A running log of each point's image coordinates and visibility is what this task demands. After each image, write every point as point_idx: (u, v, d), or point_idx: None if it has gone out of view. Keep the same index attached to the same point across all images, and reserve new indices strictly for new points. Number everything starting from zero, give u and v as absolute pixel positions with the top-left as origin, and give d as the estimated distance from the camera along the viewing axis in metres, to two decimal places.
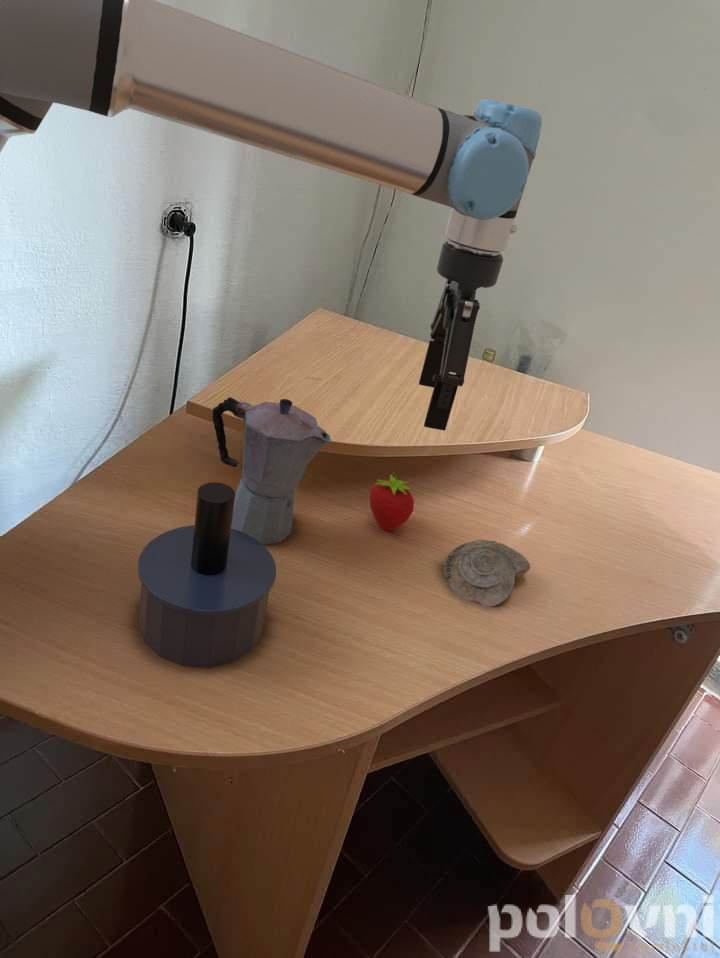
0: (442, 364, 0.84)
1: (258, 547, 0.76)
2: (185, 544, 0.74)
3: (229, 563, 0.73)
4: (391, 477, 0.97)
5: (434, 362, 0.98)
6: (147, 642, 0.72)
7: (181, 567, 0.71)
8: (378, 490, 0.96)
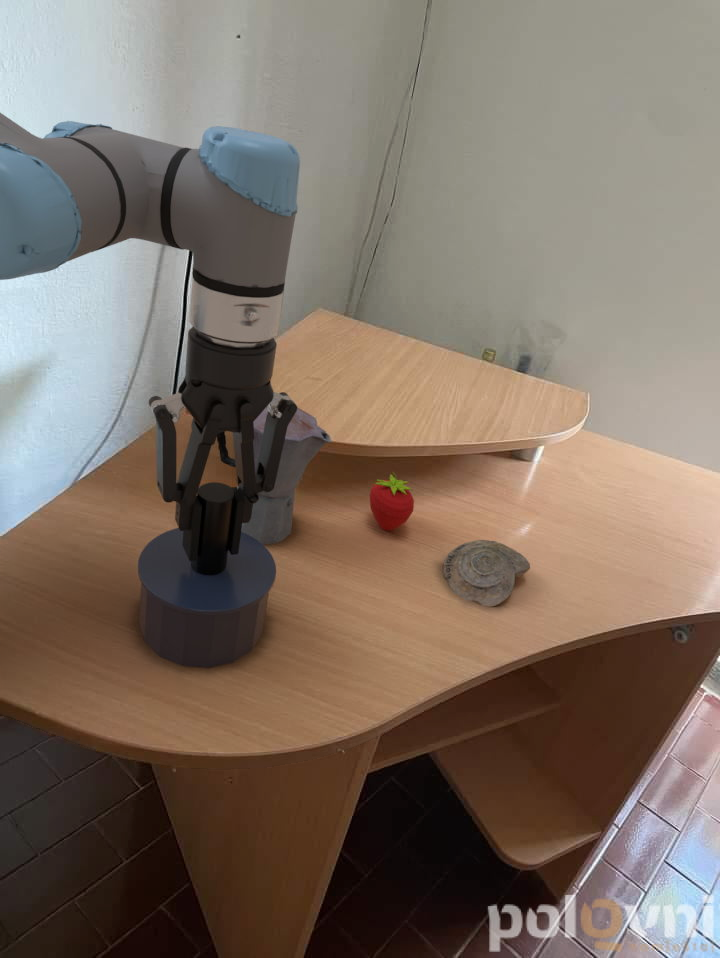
0: None
1: (258, 547, 0.76)
2: None
3: (229, 563, 0.73)
4: (391, 477, 0.97)
5: None
6: (147, 642, 0.72)
7: (181, 567, 0.71)
8: (378, 490, 0.96)
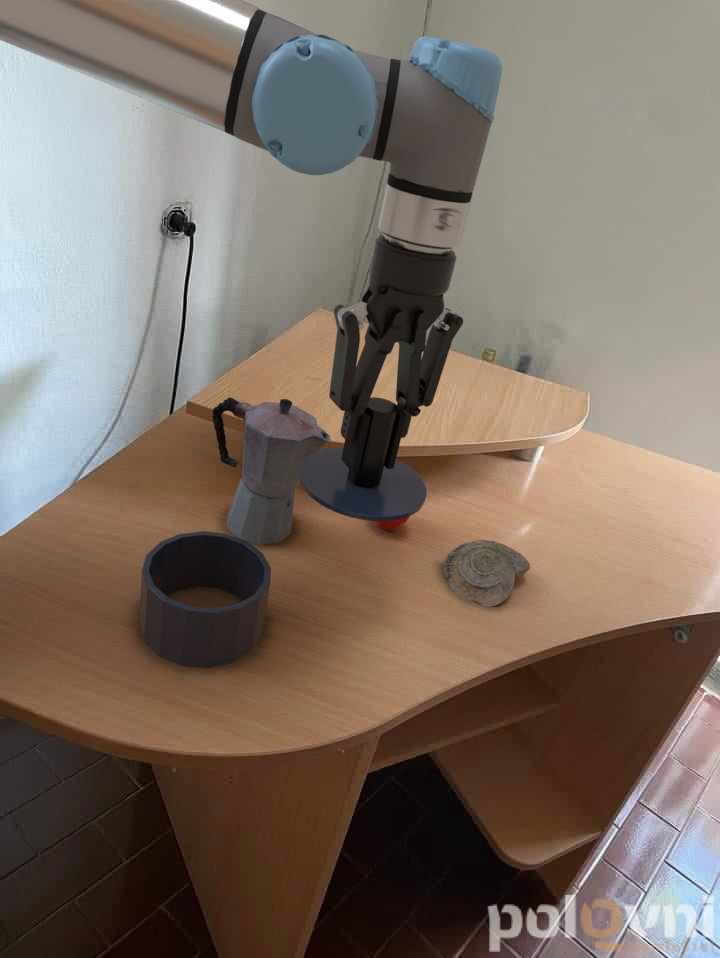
0: None
1: (403, 467, 0.80)
2: (337, 462, 0.77)
3: (382, 479, 0.76)
4: None
5: None
6: (147, 642, 0.72)
7: (340, 480, 0.74)
8: None
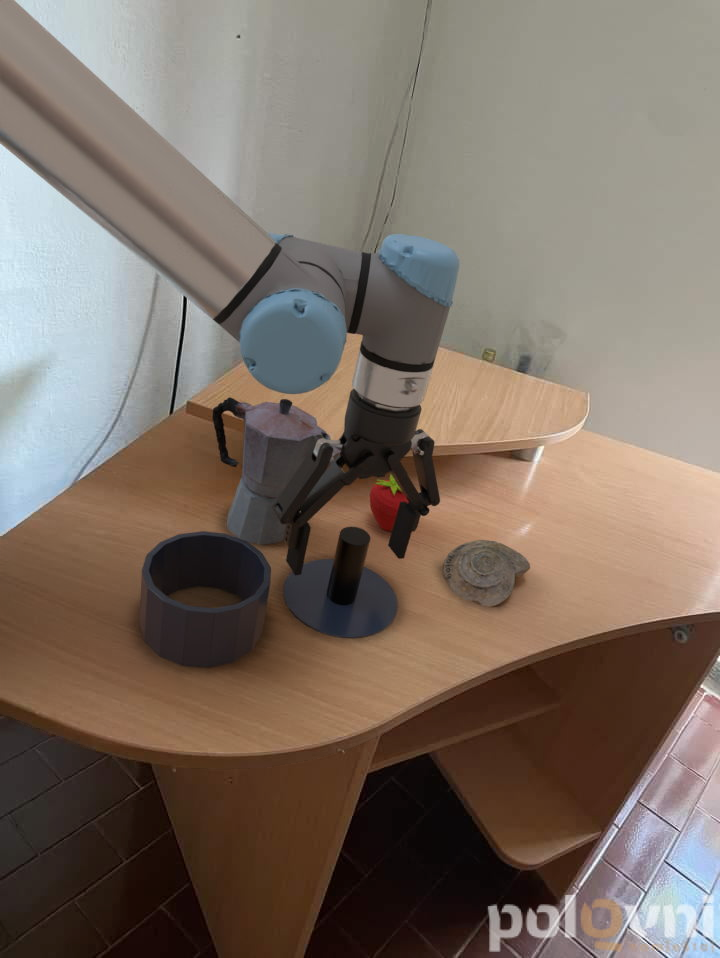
0: None
1: (377, 578, 0.88)
2: (318, 577, 0.86)
3: (358, 594, 0.85)
4: (391, 477, 0.97)
5: (400, 527, 0.83)
6: (147, 642, 0.72)
7: (319, 598, 0.83)
8: (378, 490, 0.96)
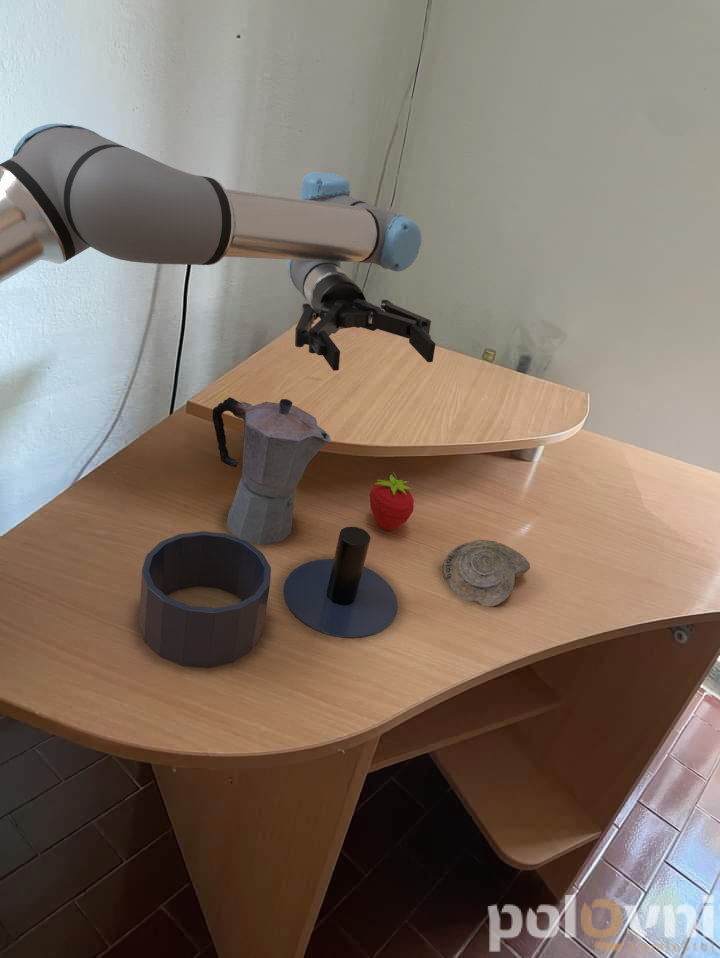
0: (409, 319, 1.00)
1: (377, 578, 0.88)
2: (318, 577, 0.86)
3: (358, 594, 0.85)
4: (391, 477, 0.97)
5: None
6: (147, 642, 0.72)
7: (319, 598, 0.83)
8: (378, 490, 0.96)
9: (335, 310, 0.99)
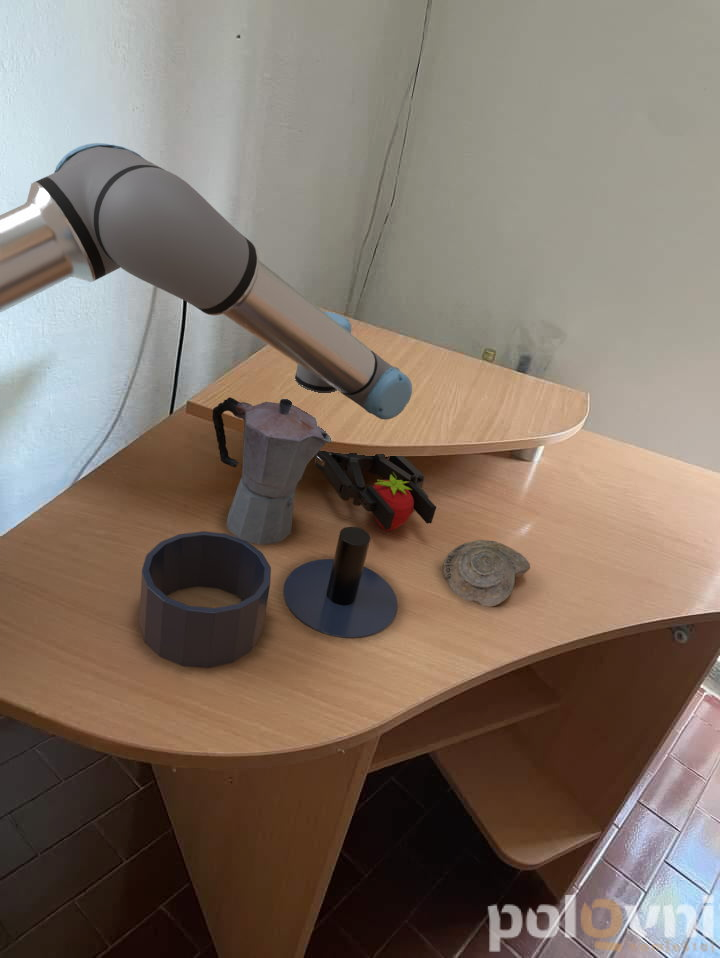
0: (406, 474, 1.01)
1: (377, 578, 0.88)
2: (318, 577, 0.86)
3: (358, 594, 0.85)
4: (391, 477, 0.97)
5: None
6: (147, 642, 0.72)
7: (319, 598, 0.83)
8: (378, 490, 0.96)
9: (356, 456, 1.01)
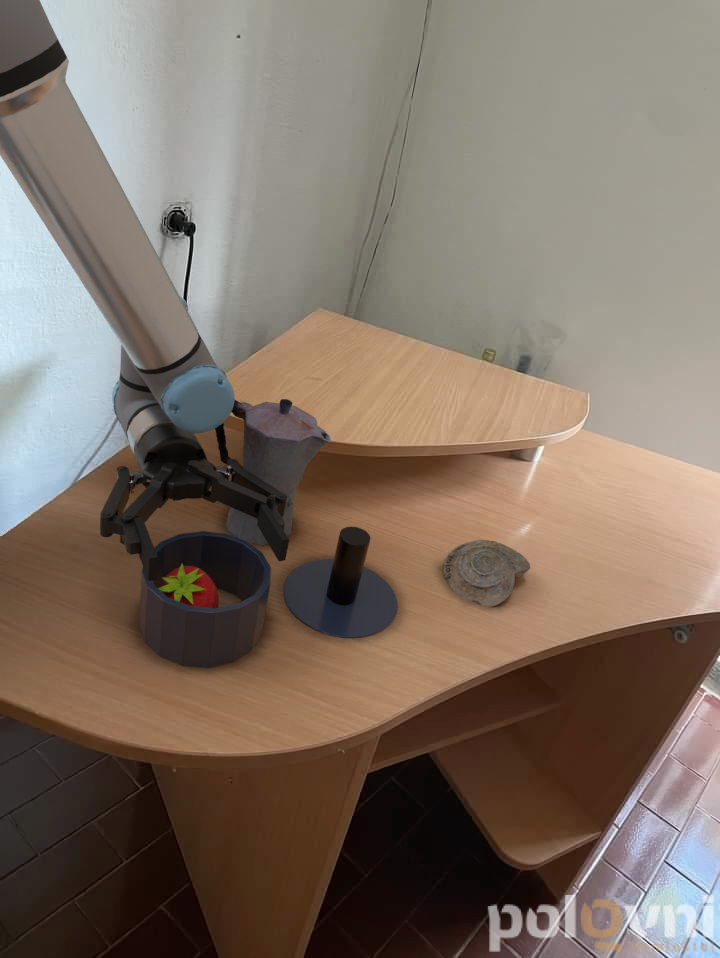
0: (259, 495, 0.77)
1: (377, 578, 0.88)
2: (318, 577, 0.86)
3: (358, 594, 0.85)
4: (180, 570, 0.71)
5: None
6: (147, 642, 0.72)
7: (319, 598, 0.83)
8: None
9: (161, 480, 0.75)
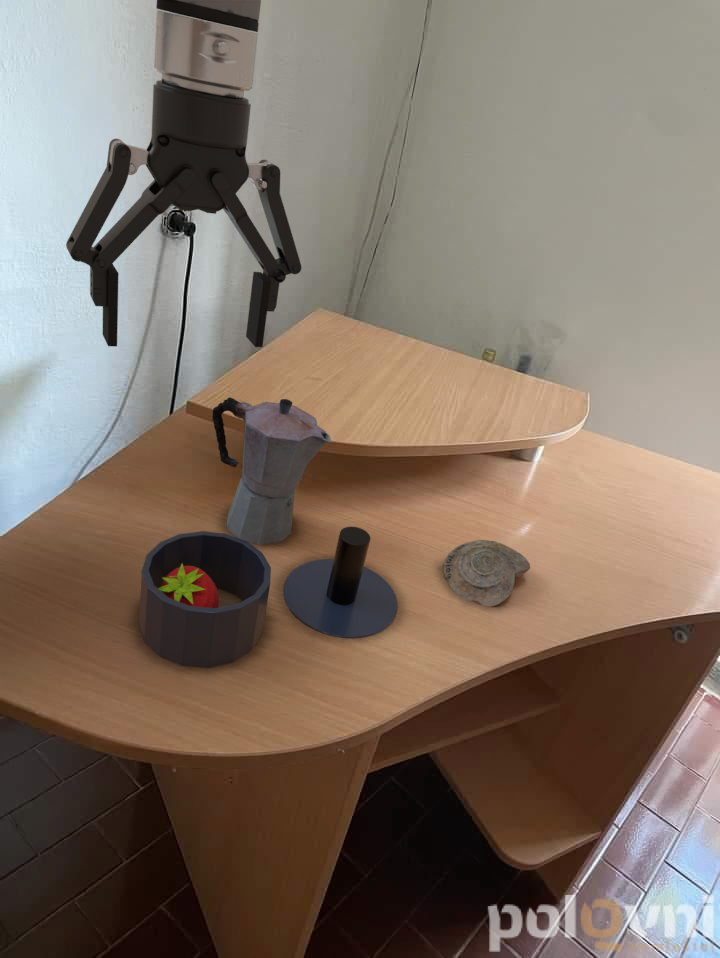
0: None
1: (377, 578, 0.88)
2: (318, 577, 0.86)
3: (358, 594, 0.85)
4: (180, 570, 0.71)
5: (254, 305, 0.67)
6: (147, 642, 0.72)
7: (319, 598, 0.83)
8: None
9: None
